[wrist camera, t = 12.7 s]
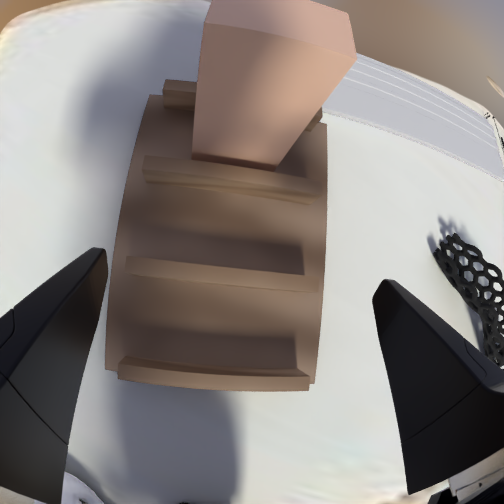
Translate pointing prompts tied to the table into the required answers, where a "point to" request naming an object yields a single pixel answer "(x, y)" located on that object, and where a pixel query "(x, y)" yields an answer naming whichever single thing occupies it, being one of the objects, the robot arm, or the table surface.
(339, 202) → the table surface
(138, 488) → the table surface
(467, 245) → the decorative element
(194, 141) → the pinkish tan block
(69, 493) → the baby figurine
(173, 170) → the drying rack
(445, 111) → the baseboard molding
